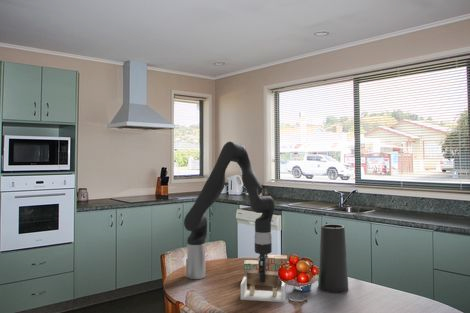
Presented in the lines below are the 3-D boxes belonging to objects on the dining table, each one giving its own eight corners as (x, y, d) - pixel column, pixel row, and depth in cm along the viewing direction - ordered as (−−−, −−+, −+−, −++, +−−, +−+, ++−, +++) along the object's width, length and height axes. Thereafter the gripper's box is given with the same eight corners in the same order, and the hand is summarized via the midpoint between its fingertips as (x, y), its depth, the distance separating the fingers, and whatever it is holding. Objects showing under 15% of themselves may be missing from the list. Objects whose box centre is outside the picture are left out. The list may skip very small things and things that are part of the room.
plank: (246, 283, 167) (246, 272, 167) (249, 280, 171) (249, 269, 171) (278, 287, 162) (278, 275, 162) (280, 283, 166) (280, 272, 166)
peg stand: (240, 299, 163) (240, 283, 163) (244, 291, 173) (243, 276, 173) (284, 302, 160) (284, 286, 160) (285, 293, 170) (285, 278, 170)
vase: (353, 287, 177) (353, 225, 177) (339, 295, 167) (339, 230, 167) (327, 281, 186) (326, 222, 186) (312, 288, 176) (312, 226, 176)
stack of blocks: (243, 282, 186) (243, 257, 186) (244, 278, 192) (244, 254, 192) (287, 283, 184) (287, 258, 184) (287, 279, 190) (286, 254, 190)
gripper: (256, 237, 174) (256, 274, 174) (252, 245, 160) (252, 285, 160) (272, 238, 173) (273, 275, 173) (270, 245, 159) (270, 286, 159)
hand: (263, 279), depth 166 cm, fingers closed on plank, 4 cm apart
